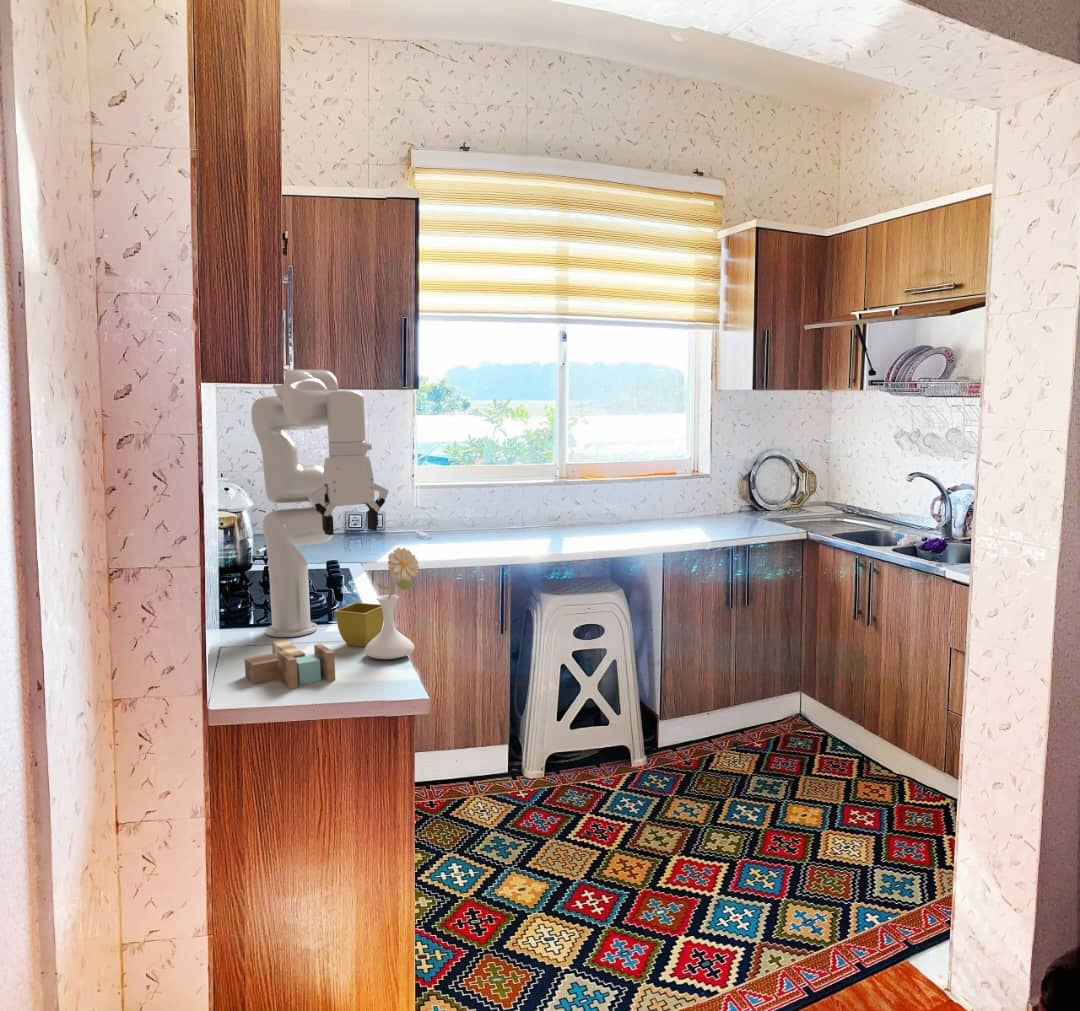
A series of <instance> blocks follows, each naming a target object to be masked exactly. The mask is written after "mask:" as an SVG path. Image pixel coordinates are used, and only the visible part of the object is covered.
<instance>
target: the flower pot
mask: <svg viewBox="0 0 1080 1011" xmlns="http://www.w3.org/2000/svg"><path fill="white" fill-rule="evenodd" d="M334 612H335V618H336V619H335V620H336V623H337V629H338V632H339V634H340V636H341V638H342V639H343V641H344V642H345V644H346V645H347V646H354V647H355V646H356V647H364V648H365V647H366V646H367V644H368V643H369V642H370V641H371V640H372V639H373V638H375V637H376V636H377V635H378V634H379V633H380V632H381V631H382V629H383V625H384V619H383V611H382V607H381V604H380V603H378V604H376V603H365V602H354V603H351V604H348V605H346V606H344V607H341V608H339V609H336V610H335V611H334Z"/></svg>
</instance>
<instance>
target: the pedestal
mask: <svg viewBox="0 0 1080 1011" xmlns="http://www.w3.org/2000/svg"><path fill="white" fill-rule="evenodd" d="M244 672H245V673H244V674H245V678H246V679H248V680H249V681H250V682H251V683H252V684H253V685H254V684H259V683H264V682H266V683H267V682H269V681H270V682H271V681H276V680H279V677H278V658H277V656H275V655H274V654H273V653H269V654H268V653H267V654H263V655H257V656H250V657H245V658H244Z"/></svg>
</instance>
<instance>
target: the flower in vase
mask: <svg viewBox="0 0 1080 1011" xmlns="http://www.w3.org/2000/svg"><path fill="white" fill-rule="evenodd" d="M387 559H388V560H387V564H388V570H389V571H390V573H391V574H393V576H394V578H396V580H395V583H394V585H393V586H392V588H391V587H389V586H385V585H382V584H380V583H377V587H378V588H379V589H380V590H385V591H389V594H385V595H379V596H377V597H376V600H377V601H378V602H379V603H378V604H379V605H381V607H382V611H383V619H384V620H383V627H382V630H381V632H380V633H379V634H378V635H377V636H376V637H375V638H373V639H372V640H371V641H370V642H369V643H368V644H367V646H365V647H364V653H365V654H366V656H367V657H370V658H373V659H376V660H377V659H378V660H393V659H400V658H403V657H406V656H408V655H410V654H412V653H413V652H414V651H415V649H416V648H415V645H414V643H413V642H412V641H411V640H410V639H409V638H408V637H406V636H405V635H403V634H402V633H401V632H399V631H398V630H397V629H396V627H395V624H394V623H395V621H394V613H395V612H394V610H395V606H396V603H397V601H398V600H399V598H400V597H399V595H395V594H392V593H393V592H394V590H395V588H396V587H398V588H399V589H400V590H401V591H408V590H409V589H412V588H413V587H414V584H413V583H412V582H411V581H410V580H411V579H412V577H413V578H414V577H416V575H418V574H419V571H418V569H419V568H420V566H419V565H418V564H419V561H418V558H416V556H415V555H414V554H412V551H411V550H410V549H406V548H405V547H403V548H400V547H396V549H393V552H390V553H389V554H388V557H387ZM399 579H400V580H399ZM398 580H399V581H398Z"/></svg>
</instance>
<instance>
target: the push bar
mask: <svg viewBox="0 0 1080 1011" xmlns="http://www.w3.org/2000/svg"><path fill="white" fill-rule="evenodd" d="M271 645H272V646H271V650H272V653H271V654H274V655H275V656H277V651H282V650H285V651H286V652H287V653H289V654H290V655H292V656H293V657H294V658H299V657H304V656H306V654H305V652H304V651H302V650H301V649H300V648H298V647H297V646H295V645H294V644H292V643H291V642H289V641H288V640H287V639H284V638H283V639H279V640H274V641H271Z"/></svg>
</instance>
